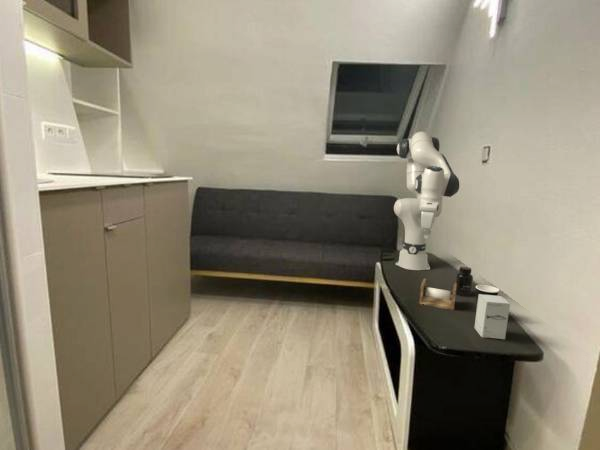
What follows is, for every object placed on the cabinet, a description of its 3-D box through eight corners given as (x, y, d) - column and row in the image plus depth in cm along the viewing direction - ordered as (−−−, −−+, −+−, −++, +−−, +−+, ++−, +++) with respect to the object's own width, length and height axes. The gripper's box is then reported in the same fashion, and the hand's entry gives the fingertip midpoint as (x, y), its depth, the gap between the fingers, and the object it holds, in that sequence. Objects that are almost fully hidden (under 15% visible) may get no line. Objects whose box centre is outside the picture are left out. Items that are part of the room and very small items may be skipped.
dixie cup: (471, 316, 129) (474, 288, 127) (473, 309, 136) (476, 283, 134) (495, 322, 125) (499, 293, 123) (496, 314, 132) (499, 287, 130)
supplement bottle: (465, 297, 149) (468, 271, 147) (450, 292, 155) (453, 267, 153) (474, 294, 153) (477, 268, 151) (459, 290, 158) (462, 265, 157)
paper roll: (424, 301, 142) (425, 291, 140) (426, 294, 146) (427, 284, 144) (449, 305, 138) (450, 295, 136) (450, 298, 142) (451, 288, 140)
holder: (419, 303, 140) (420, 284, 139) (422, 296, 149) (423, 278, 148) (453, 310, 135) (456, 290, 134) (454, 301, 144) (456, 283, 143)
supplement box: (481, 338, 113) (486, 301, 111) (473, 327, 120) (478, 293, 118) (505, 340, 112) (510, 303, 110) (496, 330, 119) (501, 295, 117)
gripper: (425, 201, 159) (422, 230, 161) (420, 206, 141) (416, 239, 143) (440, 202, 156) (436, 232, 159) (436, 208, 138) (432, 241, 141)
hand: (427, 235), depth 151 cm, fingers open, 8 cm apart
